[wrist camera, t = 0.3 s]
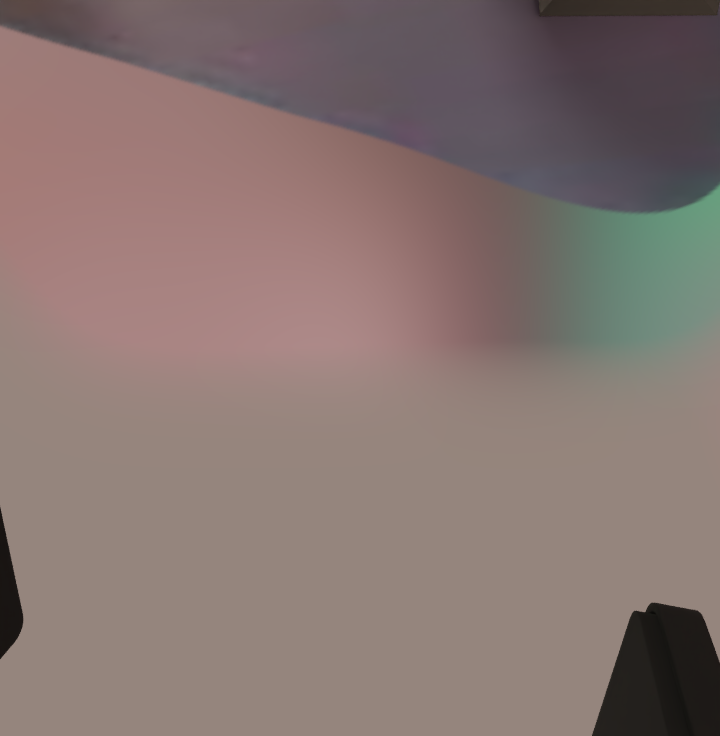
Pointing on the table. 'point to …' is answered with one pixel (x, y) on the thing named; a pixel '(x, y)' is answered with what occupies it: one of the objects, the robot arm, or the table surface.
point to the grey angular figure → (627, 7)
